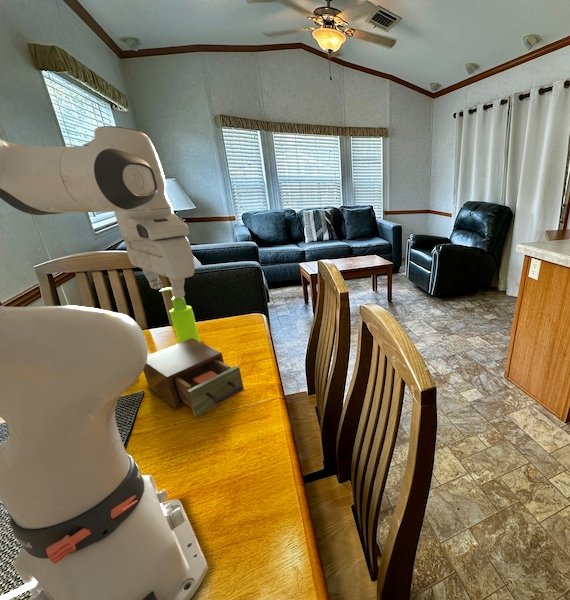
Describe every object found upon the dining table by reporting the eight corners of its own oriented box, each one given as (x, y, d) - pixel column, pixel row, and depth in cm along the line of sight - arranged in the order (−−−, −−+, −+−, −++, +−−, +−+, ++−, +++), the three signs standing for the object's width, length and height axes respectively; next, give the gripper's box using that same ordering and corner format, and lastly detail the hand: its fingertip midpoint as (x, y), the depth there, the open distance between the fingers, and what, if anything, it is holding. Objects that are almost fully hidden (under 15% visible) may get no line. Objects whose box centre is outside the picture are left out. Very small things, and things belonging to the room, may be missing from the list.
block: (224, 391, 80) (220, 375, 78) (206, 400, 77) (201, 385, 75) (214, 385, 82) (210, 370, 81) (196, 394, 79) (192, 379, 77)
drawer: (256, 397, 79) (251, 373, 77) (208, 426, 70) (201, 400, 68) (214, 373, 89) (209, 351, 86) (168, 396, 80) (160, 372, 77)
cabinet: (228, 381, 87) (221, 352, 84) (176, 408, 77) (166, 377, 74) (199, 364, 95) (192, 337, 91) (149, 387, 85) (139, 358, 82)
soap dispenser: (181, 343, 107) (164, 285, 99) (204, 341, 108) (189, 284, 100) (172, 352, 101) (154, 291, 94) (197, 350, 102) (181, 290, 95)
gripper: (107, 222, 65) (128, 287, 70) (153, 231, 54) (174, 307, 60) (143, 218, 70) (161, 279, 75) (192, 226, 59) (209, 297, 64)
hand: (167, 292), depth 67 cm, fingers open, 8 cm apart
